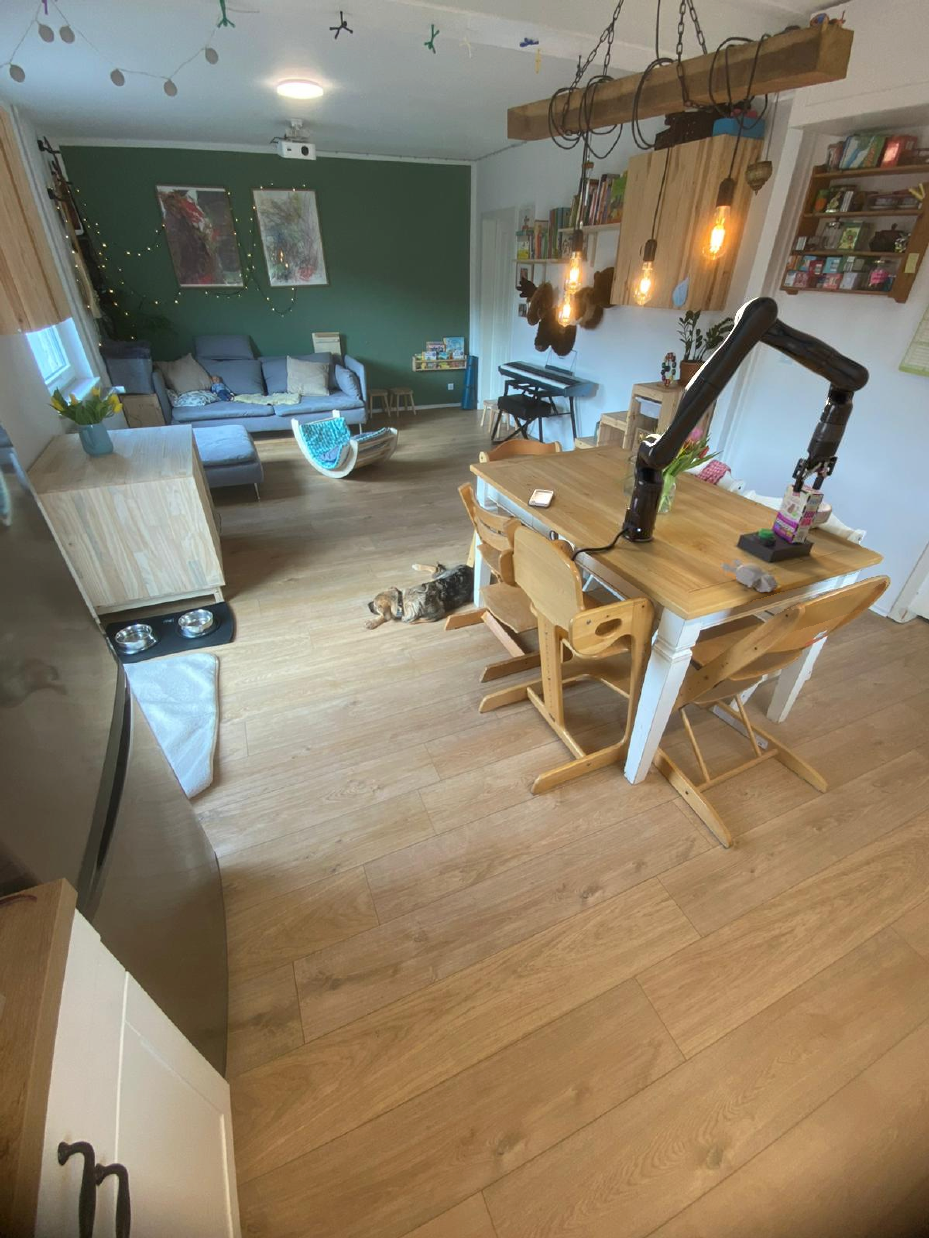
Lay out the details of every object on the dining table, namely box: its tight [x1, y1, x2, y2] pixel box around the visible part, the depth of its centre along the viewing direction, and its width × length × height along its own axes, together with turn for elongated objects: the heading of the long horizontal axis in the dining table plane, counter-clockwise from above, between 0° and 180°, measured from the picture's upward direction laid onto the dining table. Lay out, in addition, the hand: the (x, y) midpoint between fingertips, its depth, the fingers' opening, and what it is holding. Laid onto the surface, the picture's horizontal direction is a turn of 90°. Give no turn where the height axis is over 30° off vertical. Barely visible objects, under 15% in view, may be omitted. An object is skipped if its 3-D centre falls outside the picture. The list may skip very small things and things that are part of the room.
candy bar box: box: [771, 482, 825, 543], centre depth 170 cm, size 11×5×16 cm, turn 5°
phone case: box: [528, 488, 554, 508], centre depth 209 cm, size 7×1×15 cm
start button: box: [758, 528, 774, 539], centre depth 169 cm, size 4×4×2 cm
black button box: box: [736, 528, 815, 563], centre depth 173 cm, size 18×13×6 cm
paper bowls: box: [810, 500, 834, 530], centre depth 192 cm, size 15×15×8 cm
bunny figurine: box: [720, 558, 779, 593], centre depth 154 cm, size 10×5×15 cm
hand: (805, 490), depth 165 cm, fingers open, 8 cm apart
